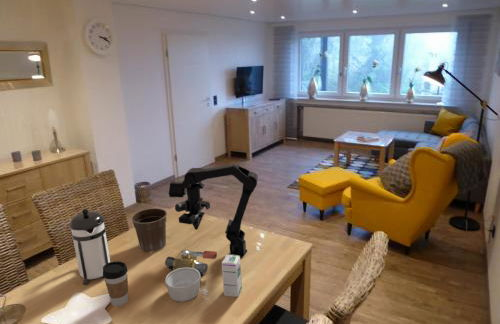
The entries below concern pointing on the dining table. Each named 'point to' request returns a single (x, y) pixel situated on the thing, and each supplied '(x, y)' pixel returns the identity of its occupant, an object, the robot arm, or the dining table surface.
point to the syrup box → (231, 275)
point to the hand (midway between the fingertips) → (196, 229)
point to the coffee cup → (116, 282)
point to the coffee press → (90, 244)
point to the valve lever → (199, 254)
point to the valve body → (186, 263)
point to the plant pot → (150, 228)
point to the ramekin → (183, 284)
